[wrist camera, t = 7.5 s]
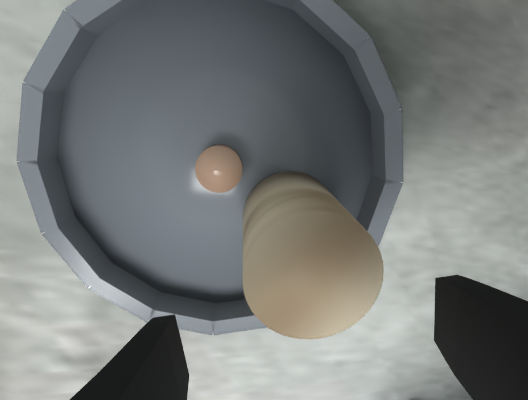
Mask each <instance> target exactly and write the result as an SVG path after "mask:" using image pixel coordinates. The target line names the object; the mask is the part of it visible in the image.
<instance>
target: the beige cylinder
mask: <svg viewBox="0 0 528 400" xmlns="http://www.w3.org/2000/svg"><path fill="white" fill-rule="evenodd" d="M383 271H384V270H383V261H382V256H381V253H380V250H379V248H378V246H377V244H376V242H375V241H374V239H373V238H372V236H371V235H370V234H369V233H368V232H367V231H366V229H365V228H364V227H363V226H362V225H361V224H360V223H359V222H358V221H357V220H356V219H355V218H354V217H353V216H352V215H351V214H350V213H349V212H348V211H347V209H346V208H345V207H344V206H343V205H342V204H341V203H340V202H339V201H338V200H337V199H336V198H335V197H334V196H333V195H332V194H331V193H330V192H329V191H328V190H327V188H326V187H325V186H324V185H323V184H322V183H320V182H319V181H318V180H317V179H315V178H314V177H312V176H310V175H308V174H305V173H301V172H296V171H285V172H279V173H276V174H273V175H271V176H268V177H266V178H265V179H263V180H262V181H261V182H259V183H258V184H257V185H256V186H255V187H254V188H253V189H252V191H251V192H250V194H249V196H248V197H247V200H246V202H245V205H244V210H243V290H244V295H245V298H246V301H247V303H248V305H249V307H250V309H251V311H252V312H253V313H254V315H255V316H256V317H257V318H258V319H259V320H260V321H261V322H262V323H263V324H264V325H266V326H267V327H268V328H270V329H271V330H273V331H275V332H277V333H279V334H282V335H284V336H288V337H292V338H298V339H319V338H324V337H328V336H332V335H335V334H337V333H340V332H342V331H344V330H346V329H348V328H349V327H351V326H352V325H354V324H355V323H357V322H358V321H359V320H360V319H361V318H362V317H364V316H365V314H366V313H367V312H368V311H369V310H370V308H371V307H372V305H373V304H374V303H375V301H376V299H377V297H378V295H379V292H380V289H381V286H382V281H383Z"/></svg>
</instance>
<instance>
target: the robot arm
mask: <svg viewBox="0 0 528 400" xmlns="http://www.w3.org/2000/svg"><path fill="white" fill-rule="evenodd" d="M434 341H435V343H436V344H437V346H438V348H439V350H440V351H441V353H442V355H443V357H444V358H445V360H446V362H447V363H448V365H449V367H450V368H451V370H452V372H453V373H454V375H455V376H456V378H457V379H458V380H459V382H460V383H461V384H462V386H463V387H464V388H465V390H466V391H467V392H468V394H469V395H470V396H471V398H472V399H473V400H528V301H525V300H523V299H520V298H518V297H515V296H513V295H510V294H508V293H505V292H503V291H500V290H498V289H495V288H493V287H490V286H488V285H485V284H482V283H480V282H477V281H474V280H472V279H469V278H466V277H463V276H459V275H453V276H446V277H439V278H436V281H435V325H434ZM188 382H189V373H188V368H187V364H186V360H185V355H184V351H183V346H182V342H181V338H180V333H179V329H178V325H177V320H176V316H175V315H168V316H161V317H153V318H152V319H151V320H150V321H149V322H148V323H147V324H146V325H145V326H144V327H143V328H142V329H141V330H140V331H139V332H138V333H137V334H136V335H135V336H134V337H133V338H132V339H131V340H130V341H129V342H128V343H127V344H126V345H125V346H124V347H123V348H122V349H121V350H120V351H119V352H118V353H117V354H116V355H115V356H114V357H113V358H112V359H111V360H110V362H109V363H108V364H107V365H106V366H105V367H104V368H103V369H102V370H101V371H100V372H99V373H98V374H97V375H96V376H94V377H93V378H92V379H91V380H90V381H89V382H88V383H87V384H86V385H85V386H84V387H83V388H82V389H81V390H80V391H79V392H77V393H76V394H75V395H74V396H73V397H72V398H71V399H70V400H187V392H188Z"/></svg>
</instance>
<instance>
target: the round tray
mask: <svg viewBox="0 0 528 400" xmlns="http://www.w3.org/2000/svg"><path fill="white" fill-rule="evenodd" d="M65 10H66V11H67V12H66V11H64V10H63V12H62V13H61V15H60V17H59V19H58V20H57V22H56V24H55V26H54V28H53V29H52V31H51V33H50V35H49V36H48V38H47V40H46V42H45V43H44V45H43V47H42V49H41V50H40V52H39V54H38V56H37V57H36V59H35V61H34V63H33V65H32V66H31V68H30V70H29V72H28V73H27V75H26V77H25V79H24V80H23V81H24V82H25V83H22V97H21V110H20V123H19V136H18V149H17V161H21V162H17V164H18V167H19V170H20V173H21V176H22V179H23V182H24V185H25V188H26V191H27V193H28V196H29V199H30V202H31V205H32V208H33V211H34V214H35V217H36V220H37V223H38V226H39V228H40V231H41V233H42V232H45V233H43V234H42V235H43V236H44V237H45V239H46V240H47V241H48V242H49V243H50V244H51V246H52V247H53V248H54V249H55V250H56V252H57V253H58V254H59V255H60V256H61V258H62V259H63V260H64V261H65V262H66V263H67V265H68V266H69V267H70V268H71V269H72V271H73V272H74V273H75V274H76V275H77V276H78V278H79V279H80V280H81V281H82V282H83V284H84V285H85V286H86V287H87V288H88V287H90V286H91V287H90V288H89V290H91V291H93V292H94V293H96V294H98V295H100V296H101V297H103V298H105V299H107V300H108V301H110V302H112V303H114V304H115V305H117V306H119V307H121V308H122V309H124V310H126V311H128V312H129V313H131V314H133V315H135V316H136V317H138V318H140V319H142V320H143V321H145V322H148V321H150V320H151V319H152V318H153V317H161V316H168V315H175V316H176V320H177V325H178V329H182V330H187V331H193V332H198V333H203V334H208V335H212V334H214V335H219V334H225V333H232V332H239V331H246V330H253V329H259V328H266V327H267V326H266V325H264V324H263V323H262V322H261V321H260V320H259V319H258V318H257V317H256V316H255V315H254V313H253V312H252V311H251V309H250V307H249V305H248V303H247V301H246V298H245V295H244V290H243V210H244V205H245V202H246V200H247V197H248V196H249V194H250V192H251V191H252V189H253V188H254V187H255V186H256V185H257V184H258V183H259V182H261V181H262V180H263V179H265V178H266V177H268V176H271V175H273V174H276V173H279V172H285V171H296V172H301V173H305V174H308V175H310V176H312V177H314V178H315V179H317V180H318V181H319V182H320V183H322V184H323V185H324V186H325V187H326V188H327V190H328V191H329V192H330V193H331V194H332V195H333V196H334V197H335V198H336V199H337V200H338V201H339V202H340V203H341V204H342V205H343V206H344V207H345V208H346V209H347V211H348V212H349V213H350V214H351V215H352V216H353V217H354V218H355V219H356V220H357V221H358V222H359V223H360V224H361V225H362V226H363V227H364V228H365V229H366V231H367V232H368V233H369V234H370V235H371V236H372V238H373V239H374V241H375V242H376V244H377V246H379V244H380V241H381V239H382V236H383V233H384V231H385V228H386V226H387V223H388V220H389V218H390V215H391V213H392V210H393V208H394V205H395V202H396V200H397V197H398V195H399V192H400V189H401V187H402V184H403V183H401V182H403V130H402V110H399V109H401V108H402V107H401V105H400V102H399V100H398V98H397V95H396V93H395V91H394V89H393V86H392V84H391V82H390V79H389V77H388V75H387V72H386V70H385V68H384V65H383V63H382V61H381V58H380V56H379V54H378V51H377V49H376V47H375V45H374V42H373V40H372V38H371V37H370V38H368V37H369V34H368V33H367V32H366V31H365V30H364V29H363V28H362V27H361V26H360V25H359V24H358V23H357V22H356V21H354V20H353V19H352V18H351V17H350V16H349V15H348V14H347V13H346V12H345V11H344V10H343V9H342V8H341V7H339V6H338V5H337V4H336V3H335V2H334V1H333V0H77V1H75V2H74V3H72V4H71V5H69V6H68V7H66V8H65ZM367 38H368V39H367Z"/></svg>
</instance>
